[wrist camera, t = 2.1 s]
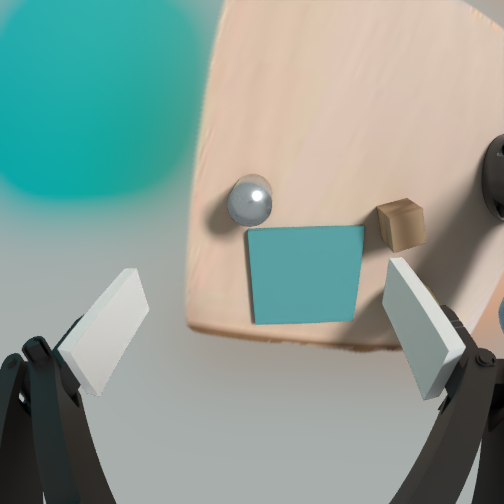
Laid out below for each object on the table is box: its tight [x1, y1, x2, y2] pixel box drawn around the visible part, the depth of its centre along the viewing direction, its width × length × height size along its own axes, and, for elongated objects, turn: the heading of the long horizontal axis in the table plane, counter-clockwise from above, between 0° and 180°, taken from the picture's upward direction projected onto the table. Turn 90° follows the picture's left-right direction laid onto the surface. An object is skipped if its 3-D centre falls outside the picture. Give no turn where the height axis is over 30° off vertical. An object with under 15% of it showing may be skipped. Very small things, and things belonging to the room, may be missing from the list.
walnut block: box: [376, 198, 425, 253], centre depth 34 cm, size 5×5×5 cm
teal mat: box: [248, 225, 365, 325], centre depth 41 cm, size 16×16×1 cm
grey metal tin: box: [227, 174, 272, 227], centre depth 34 cm, size 5×5×6 cm
